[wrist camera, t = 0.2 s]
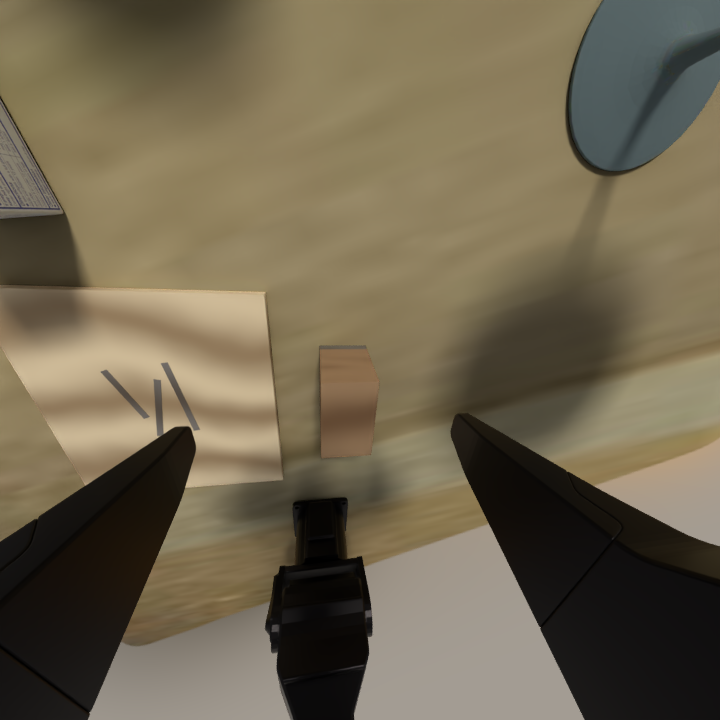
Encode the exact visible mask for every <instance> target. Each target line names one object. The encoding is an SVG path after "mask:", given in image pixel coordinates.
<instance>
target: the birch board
mask: <svg viewBox="0 0 720 720" xmlns="http://www.w3.org/2000/svg"><path fill="white" fill-rule="evenodd" d="M0 347H1V348H2V350H3V352H4V353H5V355H6V356H7V358H8V360H9V361H10V363H11V365H12V366H13V368H14V369H15V371H16V373H17V374H18V376H19V378H20V379H21V381H22V383H23V384H24V386H25V387H26V389H27V391H28V392H29V394H30V396H31V397H32V399H33V401H34V402H35V404H36V405H37V407H38V409H39V410H40V412H41V414H42V415H43V417H44V419H45V420H46V422H47V423H48V425H49V427H50V428H51V430H52V432H53V433H54V435H55V437H56V438H57V440H58V441H59V443H60V445H61V446H62V448H63V450H64V451H65V453H66V455H67V456H68V458H69V459H70V461H71V463H72V464H73V466H74V468H75V469H76V471H77V472H78V474H79V476H80V477H81V479H82V481H83V482H84V484H85V486H86V485H87V484H89V483H90V482H92V481H93V480H95V479H96V478H98V477H99V476H101V475H102V474H104V473H105V472H107V471H108V470H110V469H111V468H113V467H114V466H116V465H117V464H119V463H120V462H122V461H123V460H125V459H126V458H128V457H130V456H131V455H133V454H134V453H136V452H137V451H139V450H140V449H142V448H143V447H145V446H146V445H148V444H149V443H151V442H152V441H154V440H155V439H157V438H158V437H160V436H161V435H163V434H164V433H166V432H167V431H169V430H170V429H172V428H174V427H177V426H189V427H190V428H191V430H192V433H193V436H194V440H195V443H196V453H195V457H194V460H193V463H192V466H191V470H190V473H189V476H188V480H187V483H186V486H185V488H187V487H200V486H213V485H226V484H239V483H252V482H265V481H277V480H283V475H284V473H283V462H282V452H281V442H280V432H279V421H278V411H277V401H276V391H275V380H274V370H273V360H272V350H271V339H270V329H269V319H268V309H267V298H266V292H244V291H208V290H171V289H135V288H99V287H62V286H26V285H0Z"/></svg>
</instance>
